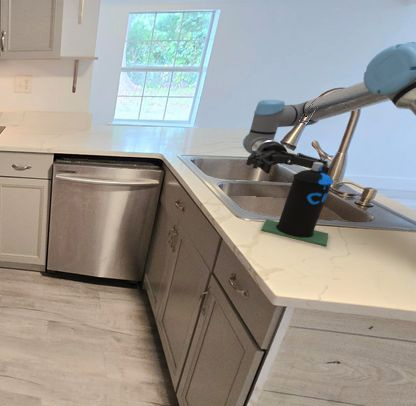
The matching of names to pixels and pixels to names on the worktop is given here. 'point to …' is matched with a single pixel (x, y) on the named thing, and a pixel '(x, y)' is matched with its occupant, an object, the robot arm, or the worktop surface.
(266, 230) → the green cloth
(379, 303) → the worktop surface
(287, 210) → the aerosol can
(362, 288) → the worktop surface
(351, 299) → the worktop surface
